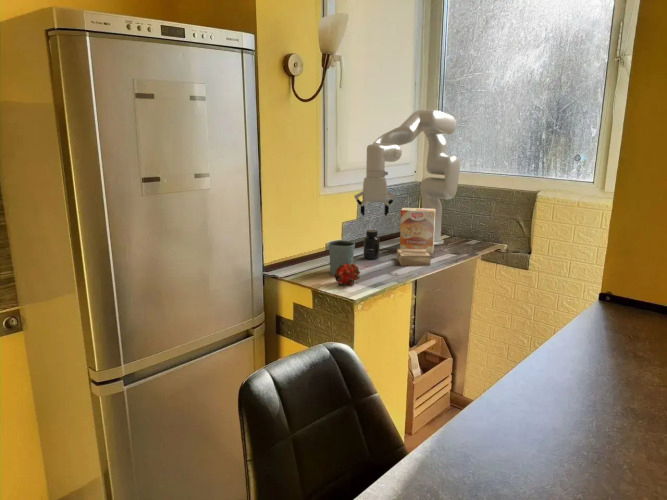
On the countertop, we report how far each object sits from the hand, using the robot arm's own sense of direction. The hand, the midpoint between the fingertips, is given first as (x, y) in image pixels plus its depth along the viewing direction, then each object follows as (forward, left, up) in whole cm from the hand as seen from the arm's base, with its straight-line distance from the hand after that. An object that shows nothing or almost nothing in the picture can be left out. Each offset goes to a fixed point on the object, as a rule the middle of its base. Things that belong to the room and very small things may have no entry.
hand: (374, 215), depth 221 cm
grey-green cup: (+21, -15, -19) cm, 32 cm away
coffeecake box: (-12, +21, -19) cm, 31 cm away
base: (+6, +16, -19) cm, 26 cm away
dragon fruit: (+36, -14, -19) cm, 43 cm away
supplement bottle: (-1, -1, -19) cm, 19 cm away
